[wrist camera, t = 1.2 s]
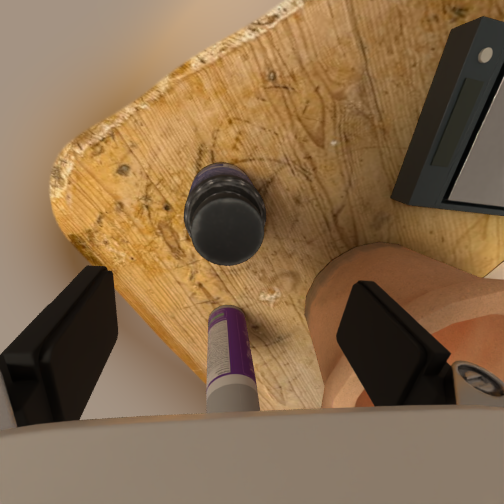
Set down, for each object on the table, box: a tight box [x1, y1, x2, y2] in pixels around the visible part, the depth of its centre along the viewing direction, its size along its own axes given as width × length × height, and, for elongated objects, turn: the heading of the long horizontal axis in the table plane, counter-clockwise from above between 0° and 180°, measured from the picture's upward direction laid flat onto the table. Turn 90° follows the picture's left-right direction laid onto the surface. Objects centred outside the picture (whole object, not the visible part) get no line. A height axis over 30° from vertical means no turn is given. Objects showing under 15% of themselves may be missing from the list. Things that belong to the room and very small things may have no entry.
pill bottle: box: [184, 162, 266, 266], centre depth 21 cm, size 6×6×11 cm
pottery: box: [304, 242, 504, 408], centre depth 28 cm, size 22×22×14 cm
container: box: [206, 305, 260, 413], centre depth 26 cm, size 5×5×15 cm
